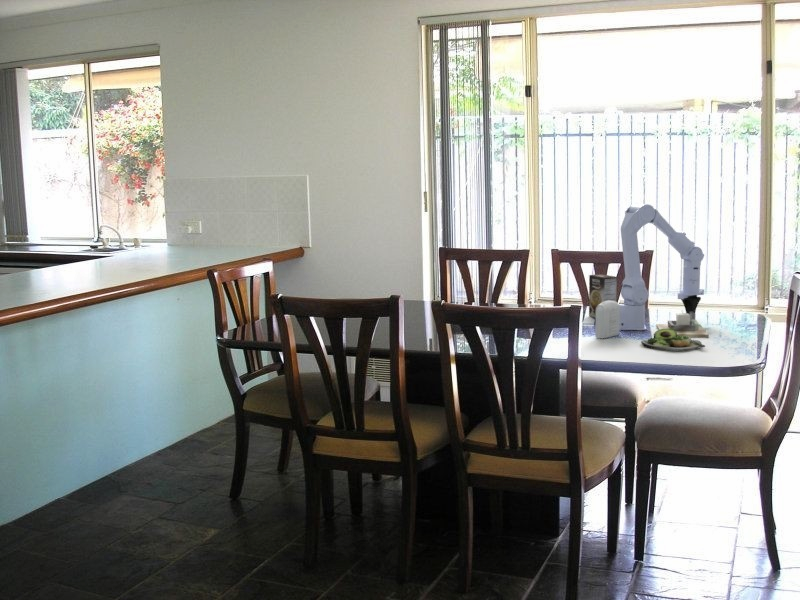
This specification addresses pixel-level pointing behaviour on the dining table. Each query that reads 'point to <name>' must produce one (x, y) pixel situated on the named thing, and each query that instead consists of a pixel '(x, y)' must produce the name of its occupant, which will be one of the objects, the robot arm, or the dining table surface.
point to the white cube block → (682, 319)
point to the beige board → (684, 329)
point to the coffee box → (601, 291)
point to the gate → (694, 322)
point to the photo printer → (607, 319)
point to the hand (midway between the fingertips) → (690, 316)
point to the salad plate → (671, 341)
